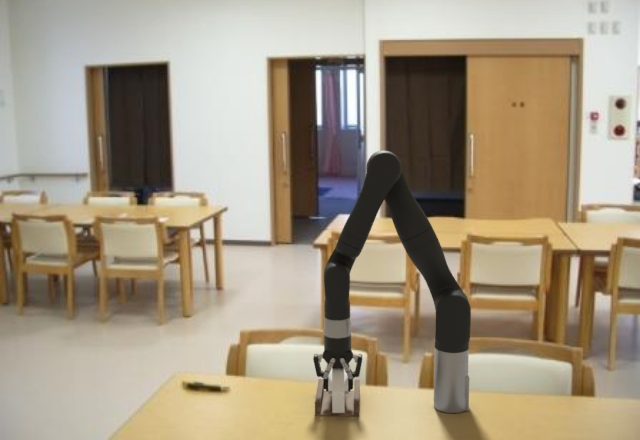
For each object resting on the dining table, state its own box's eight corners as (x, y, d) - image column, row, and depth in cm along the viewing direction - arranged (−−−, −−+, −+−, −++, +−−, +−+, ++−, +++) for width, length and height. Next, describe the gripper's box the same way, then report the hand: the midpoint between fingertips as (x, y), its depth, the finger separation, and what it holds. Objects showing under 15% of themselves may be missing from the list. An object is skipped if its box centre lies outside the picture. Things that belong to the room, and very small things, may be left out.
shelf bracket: (347, 379, 217) (347, 343, 213) (348, 433, 194) (348, 393, 189) (329, 379, 217) (328, 343, 213) (328, 433, 194) (327, 393, 190)
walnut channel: (359, 392, 211) (359, 379, 210) (359, 416, 195) (359, 402, 195) (318, 391, 212) (318, 379, 211) (315, 415, 196) (314, 402, 195)
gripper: (363, 328, 202) (364, 385, 205) (312, 328, 203) (313, 384, 206) (363, 337, 195) (364, 396, 198) (310, 336, 196) (311, 395, 199)
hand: (338, 390), depth 202 cm, fingers closed on shelf bracket, 5 cm apart
